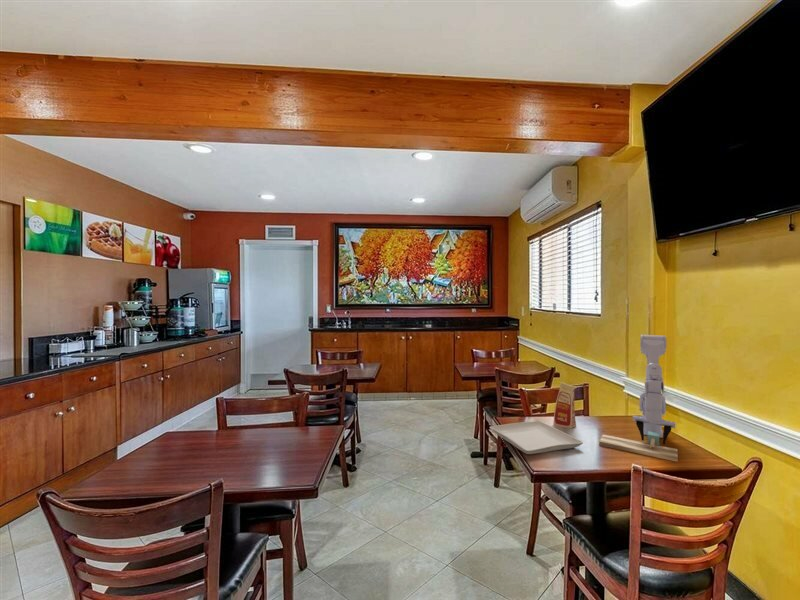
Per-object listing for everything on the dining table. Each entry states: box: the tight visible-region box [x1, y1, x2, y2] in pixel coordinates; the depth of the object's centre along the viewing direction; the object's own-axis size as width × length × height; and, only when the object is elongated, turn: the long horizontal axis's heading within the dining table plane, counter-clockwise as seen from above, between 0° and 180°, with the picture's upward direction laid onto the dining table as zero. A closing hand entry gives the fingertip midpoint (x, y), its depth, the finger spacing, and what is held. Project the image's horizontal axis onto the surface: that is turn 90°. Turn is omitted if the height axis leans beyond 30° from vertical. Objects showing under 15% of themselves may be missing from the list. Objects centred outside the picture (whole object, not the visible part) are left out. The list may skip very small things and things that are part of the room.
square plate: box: [489, 420, 584, 455], centre depth 159 cm, size 27×27×4 cm
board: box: [598, 434, 679, 463], centre depth 152 cm, size 10×26×2 cm, turn 54°
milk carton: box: [552, 381, 577, 429], centre depth 181 cm, size 9×9×20 cm
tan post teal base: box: [646, 431, 660, 448], centre depth 153 cm, size 12×4×5 cm, turn 144°
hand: (653, 441), depth 156 cm, fingers open, 7 cm apart
